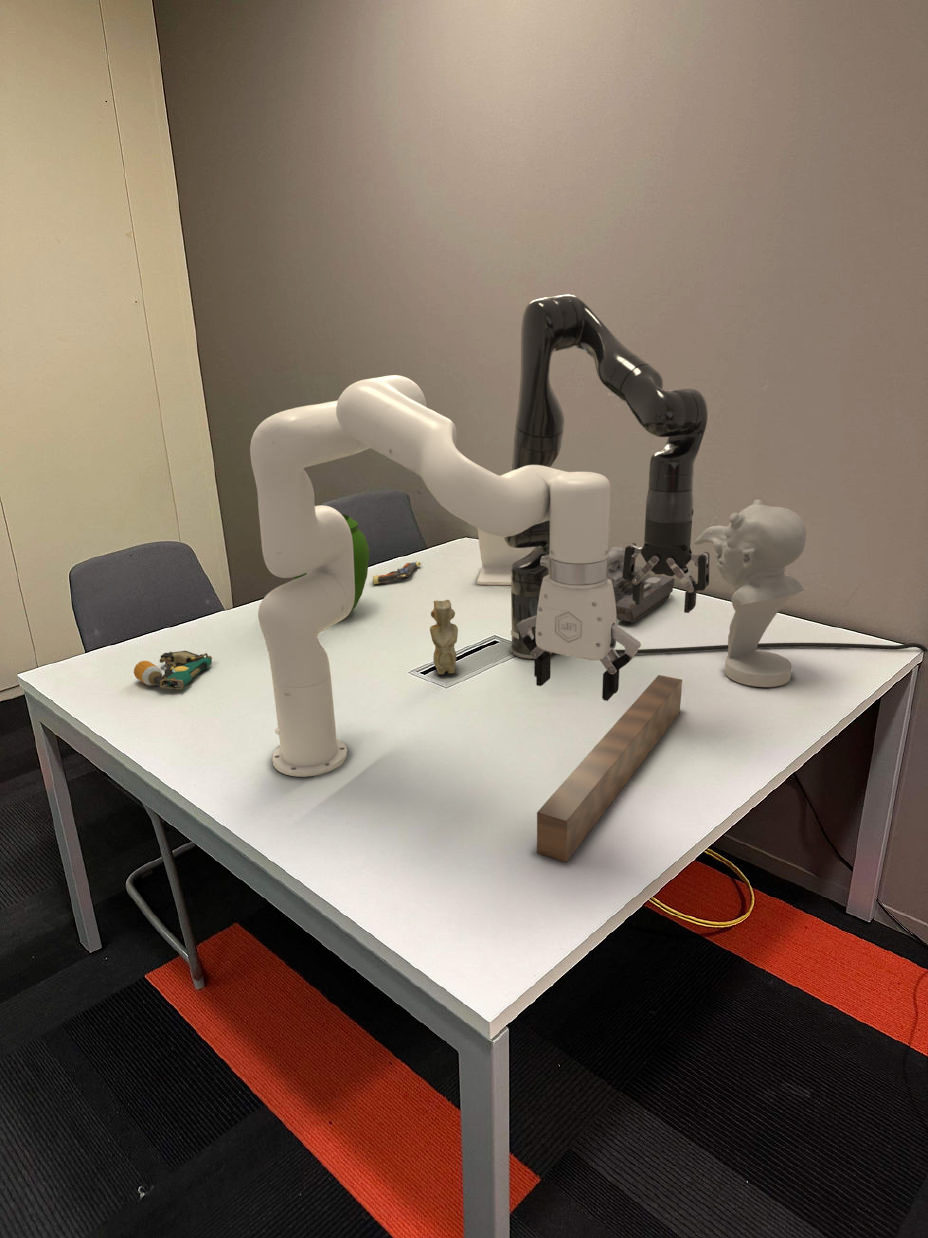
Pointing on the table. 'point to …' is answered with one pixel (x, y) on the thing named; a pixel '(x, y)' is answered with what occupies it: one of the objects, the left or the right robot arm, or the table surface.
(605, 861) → the table surface
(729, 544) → the bust sculpture
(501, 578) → the tablet stand
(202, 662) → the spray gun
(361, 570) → the vase
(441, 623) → the sculpture
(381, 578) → the toy gun
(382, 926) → the table surface
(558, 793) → the bar
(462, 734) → the table surface
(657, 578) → the toy
